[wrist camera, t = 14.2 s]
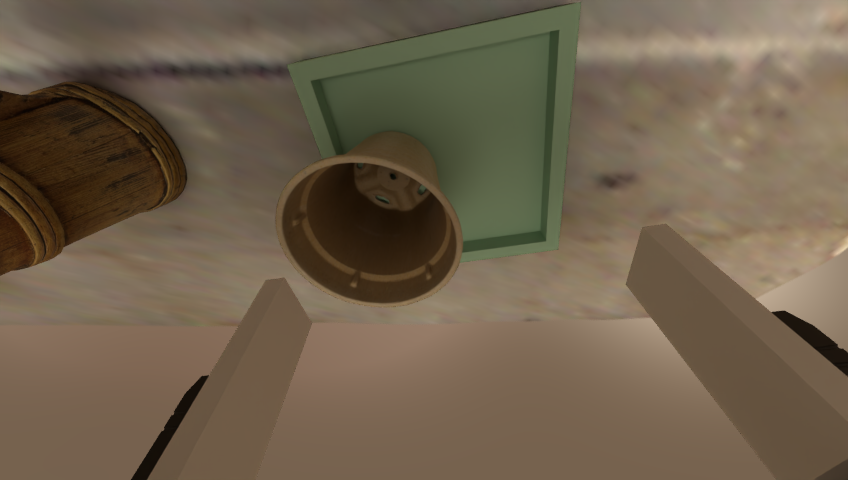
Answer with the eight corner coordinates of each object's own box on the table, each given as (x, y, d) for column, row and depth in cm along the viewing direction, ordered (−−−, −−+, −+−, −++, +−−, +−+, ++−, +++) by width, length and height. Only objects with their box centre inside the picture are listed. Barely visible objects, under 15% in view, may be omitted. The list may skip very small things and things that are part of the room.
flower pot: (454, 230, 25) (455, 314, 18) (340, 224, 25) (298, 303, 18) (465, 108, 19) (473, 161, 12) (319, 103, 20) (248, 151, 13)
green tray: (301, 60, 19) (286, 64, 17) (563, 4, 18) (581, 2, 16) (370, 257, 28) (366, 275, 26) (547, 232, 27) (558, 249, 25)
